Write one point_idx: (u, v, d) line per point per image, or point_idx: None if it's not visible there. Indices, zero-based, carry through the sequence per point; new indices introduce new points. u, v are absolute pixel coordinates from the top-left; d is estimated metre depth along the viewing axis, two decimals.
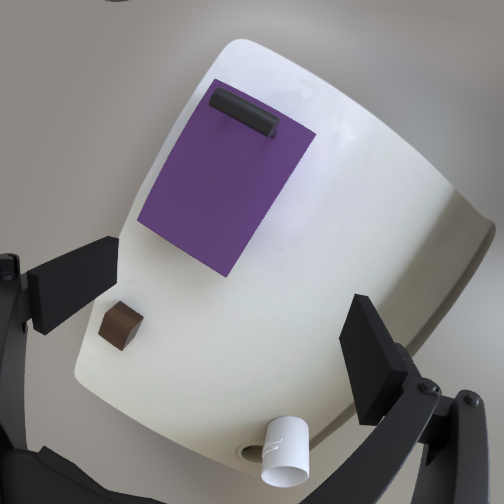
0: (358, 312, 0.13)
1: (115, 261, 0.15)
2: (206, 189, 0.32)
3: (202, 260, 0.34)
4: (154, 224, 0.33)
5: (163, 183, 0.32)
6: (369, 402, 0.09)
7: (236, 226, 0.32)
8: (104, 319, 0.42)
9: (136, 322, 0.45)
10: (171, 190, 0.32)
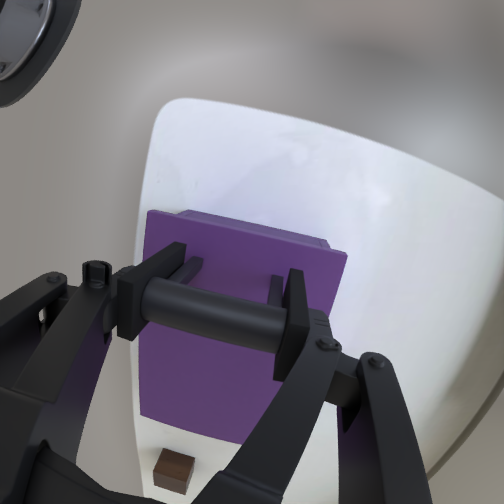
0: (288, 283, 0.15)
1: None
2: (209, 376, 0.21)
3: (238, 442, 0.23)
4: (163, 417, 0.23)
5: (149, 376, 0.22)
6: (279, 358, 0.11)
7: (267, 407, 0.21)
8: (154, 475, 0.32)
9: (189, 468, 0.34)
10: (163, 383, 0.22)
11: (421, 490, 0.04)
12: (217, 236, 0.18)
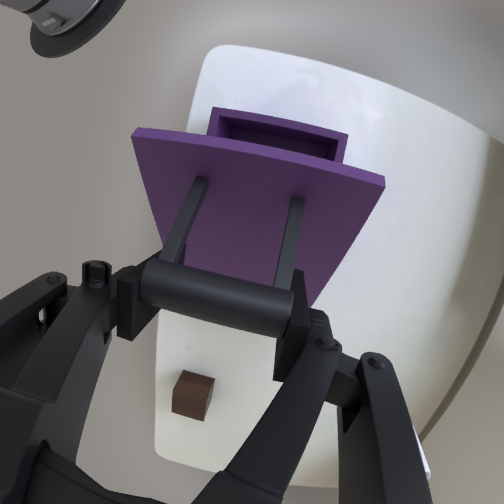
0: None
1: None
2: (235, 267, 0.23)
3: None
4: None
5: None
6: (279, 358, 0.11)
7: None
8: (174, 396, 0.38)
9: (209, 387, 0.40)
10: None
11: (421, 489, 0.04)
12: (220, 157, 0.14)
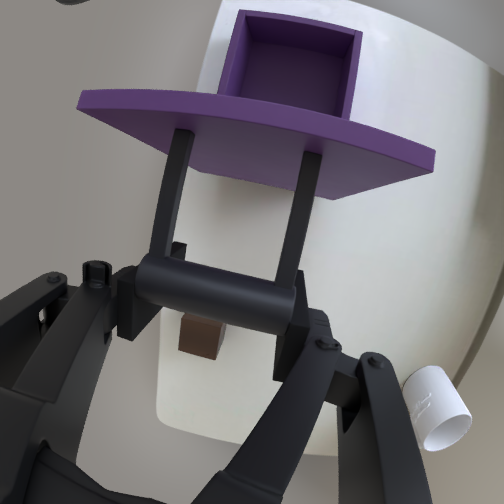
0: None
1: None
2: (252, 171, 0.19)
3: None
4: (220, 174, 0.26)
5: (192, 163, 0.22)
6: (279, 358, 0.11)
7: (321, 189, 0.21)
8: (182, 326, 0.35)
9: None
10: (208, 166, 0.22)
11: (421, 490, 0.04)
12: (195, 120, 0.09)
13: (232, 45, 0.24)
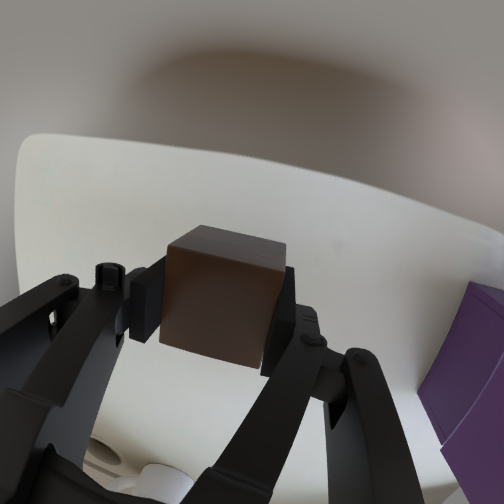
0: None
1: None
2: None
3: (462, 425, 0.16)
4: None
5: None
6: None
7: (481, 481, 0.11)
8: (253, 271, 0.12)
9: None
10: None
11: (411, 485, 0.04)
12: None
13: None
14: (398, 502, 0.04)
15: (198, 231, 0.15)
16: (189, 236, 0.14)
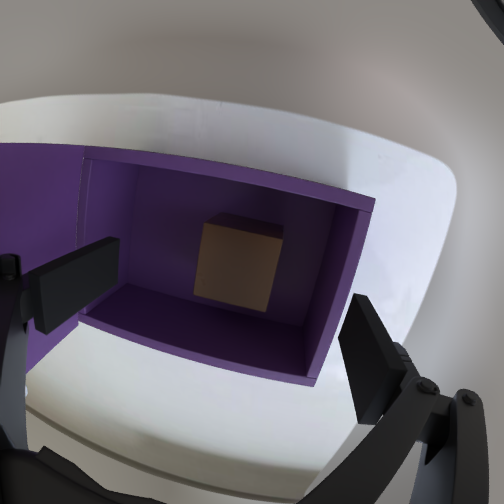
0: (357, 312, 0.13)
1: (116, 261, 0.16)
2: None
3: None
4: None
5: None
6: (368, 401, 0.09)
7: None
8: (262, 239, 0.18)
9: None
10: None
11: None
12: None
13: (289, 183, 0.15)
14: None
15: (221, 215, 0.21)
16: (216, 218, 0.20)
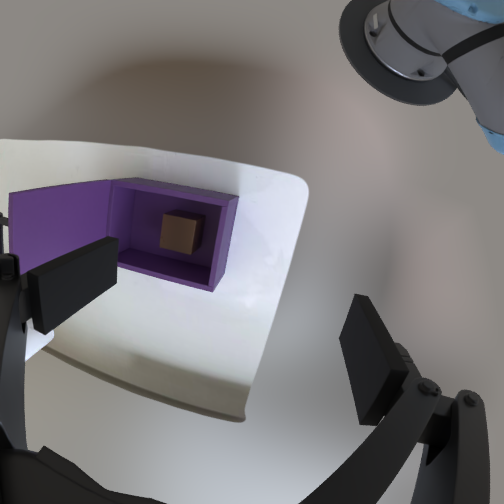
0: (358, 312, 0.13)
1: (115, 261, 0.15)
2: None
3: None
4: None
5: None
6: (369, 402, 0.09)
7: None
8: (187, 220, 0.41)
9: (196, 248, 0.44)
10: None
11: None
12: None
13: (193, 196, 0.38)
14: None
15: (174, 211, 0.44)
16: (170, 212, 0.43)
